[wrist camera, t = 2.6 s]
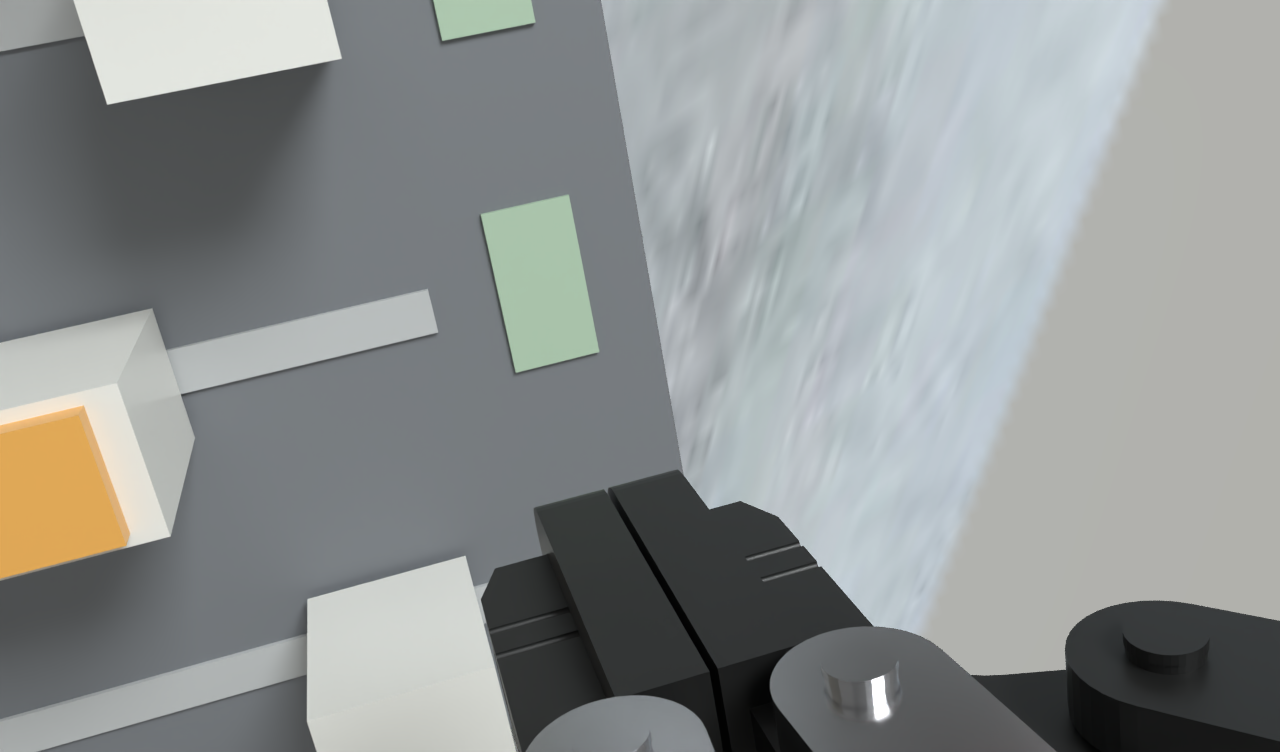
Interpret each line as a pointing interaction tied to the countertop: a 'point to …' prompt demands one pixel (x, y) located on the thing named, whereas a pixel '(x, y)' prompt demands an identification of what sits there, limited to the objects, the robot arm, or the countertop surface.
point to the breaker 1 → (200, 41)
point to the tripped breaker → (88, 442)
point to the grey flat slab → (323, 340)
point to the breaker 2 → (404, 667)
